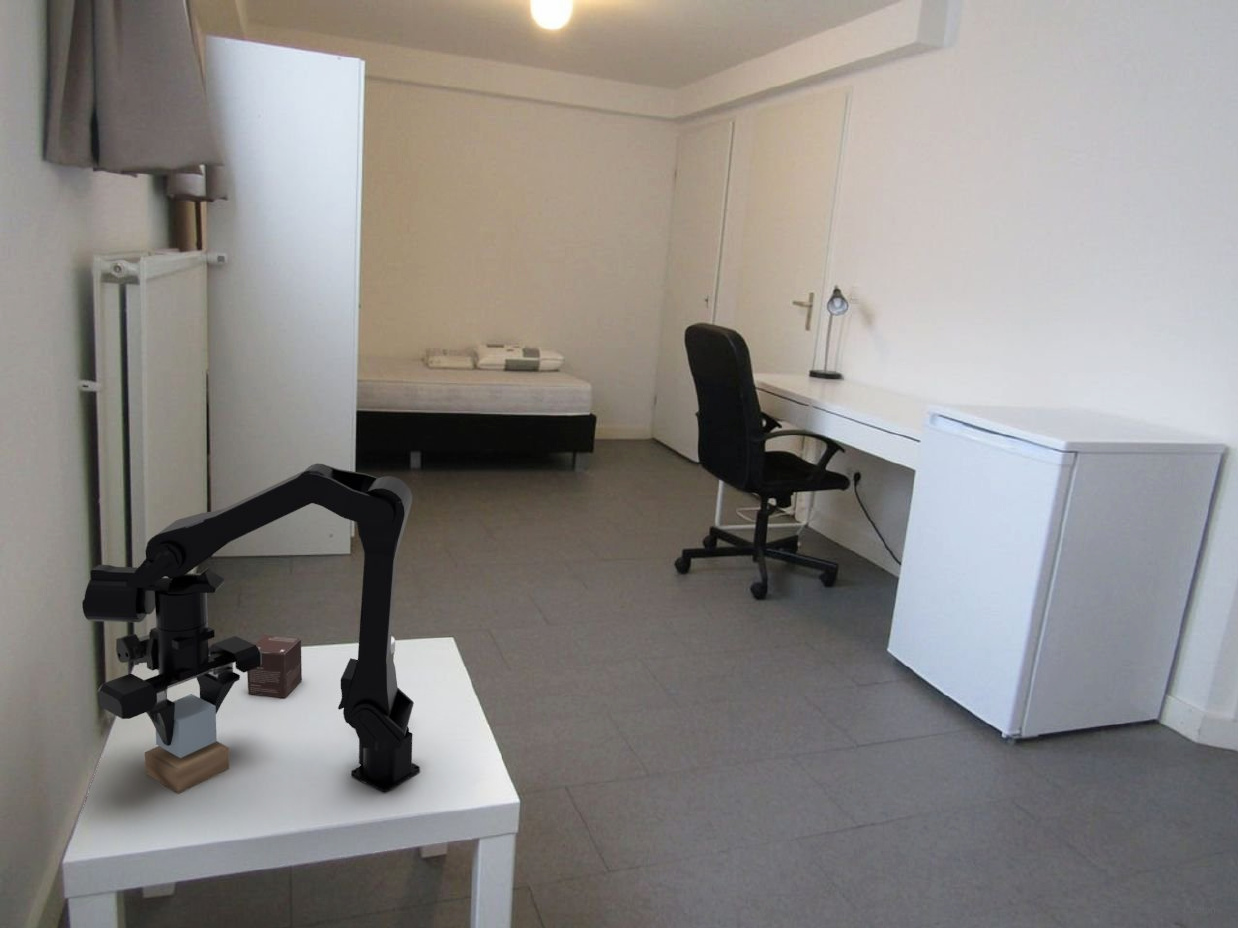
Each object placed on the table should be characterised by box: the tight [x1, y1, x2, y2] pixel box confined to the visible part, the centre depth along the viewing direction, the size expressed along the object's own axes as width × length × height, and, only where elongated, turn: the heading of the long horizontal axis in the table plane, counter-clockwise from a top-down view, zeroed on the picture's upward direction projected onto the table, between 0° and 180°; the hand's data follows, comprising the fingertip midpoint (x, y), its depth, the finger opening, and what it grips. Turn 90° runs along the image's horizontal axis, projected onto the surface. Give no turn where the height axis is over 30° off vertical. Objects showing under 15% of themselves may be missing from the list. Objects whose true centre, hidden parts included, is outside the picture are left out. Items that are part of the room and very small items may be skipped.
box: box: [246, 634, 303, 698], centre depth 136 cm, size 6×6×7 cm
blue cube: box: [155, 693, 218, 758], centre depth 112 cm, size 5×5×5 cm
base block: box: [144, 741, 230, 794], centre depth 114 cm, size 7×7×3 cm
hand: (186, 735), depth 113 cm, fingers closed on blue cube, 5 cm apart
